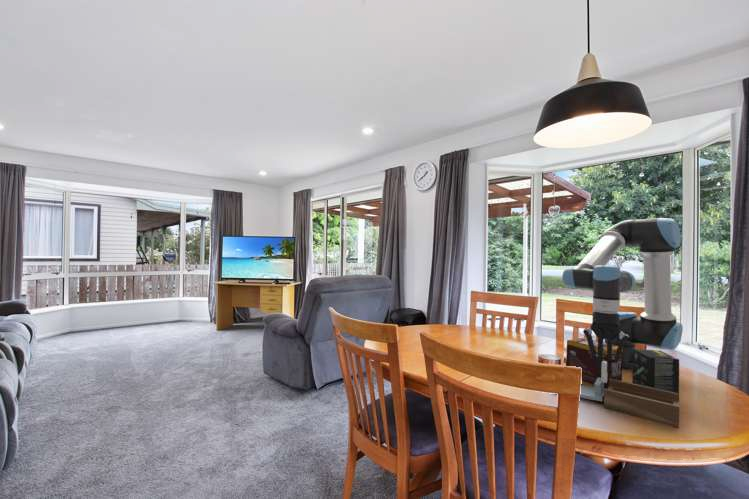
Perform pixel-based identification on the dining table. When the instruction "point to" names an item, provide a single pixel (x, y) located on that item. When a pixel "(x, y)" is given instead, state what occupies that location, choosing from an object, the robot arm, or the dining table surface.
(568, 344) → the supplement box
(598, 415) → the dining table surface
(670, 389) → the tampon box
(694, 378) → the dining table surface
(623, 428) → the dining table surface
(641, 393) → the grooved box
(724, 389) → the dining table surface
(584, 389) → the cover plate
